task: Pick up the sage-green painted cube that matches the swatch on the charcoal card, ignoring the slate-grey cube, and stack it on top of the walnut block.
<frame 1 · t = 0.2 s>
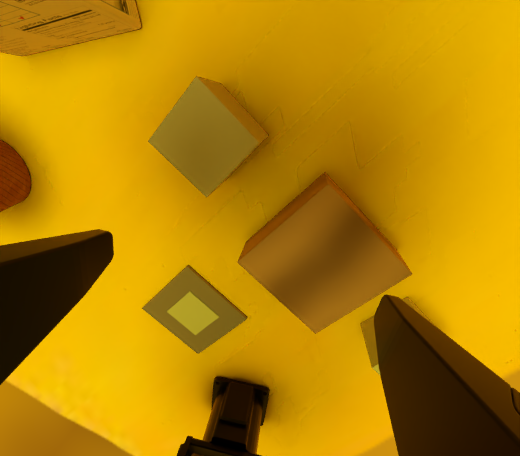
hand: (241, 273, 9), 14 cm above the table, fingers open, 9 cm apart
walnut block: (318, 243, 24), on the table
swatch card: (194, 311, 29), on the table
sage cube: (399, 326, 26), on the table
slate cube: (223, 134, 21), on the table
disposable coffee cup: (1, 170, 26), on the table
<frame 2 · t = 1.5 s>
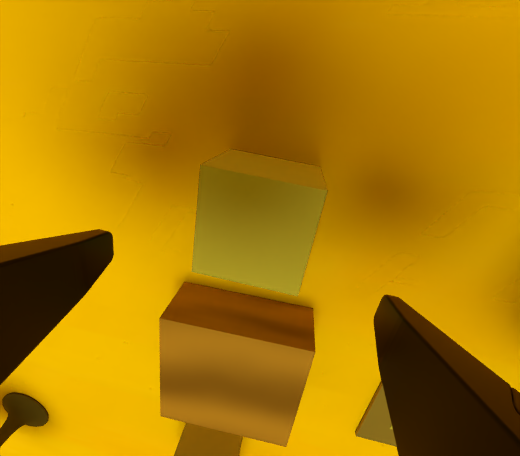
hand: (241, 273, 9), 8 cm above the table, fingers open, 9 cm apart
walnut block: (241, 339, 21), on the table
swatch card: (424, 414, 21), on the table
sundae: (27, 407, 29), on the table
sage cube: (267, 200, 16), on the table
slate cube: (214, 434, 26), on the table
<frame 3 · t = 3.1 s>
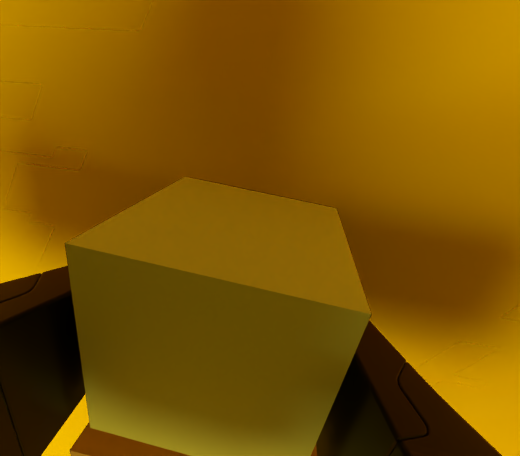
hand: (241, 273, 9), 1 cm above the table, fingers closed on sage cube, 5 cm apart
walnut block: (217, 436, 15), on the table
sage cube: (247, 258, 10), on the table, touching gripper
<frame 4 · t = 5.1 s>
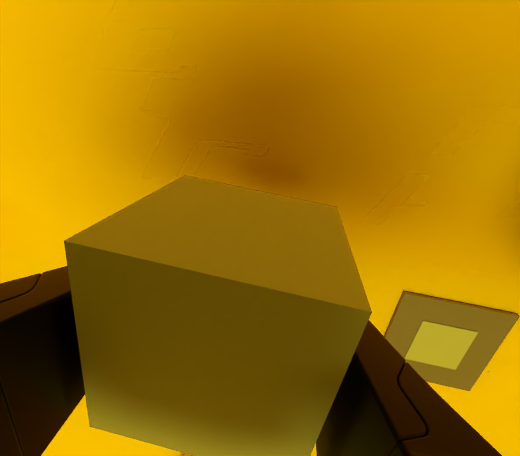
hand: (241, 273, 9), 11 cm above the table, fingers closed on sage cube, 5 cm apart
swatch card: (437, 342, 22), on the table
sage cube: (247, 257, 10), point 10 cm above the table, touching gripper
when the fingers open (6 cm above the table, at t = 7.3 s): sage cube drops 2 cm, point 4 cm above the table.
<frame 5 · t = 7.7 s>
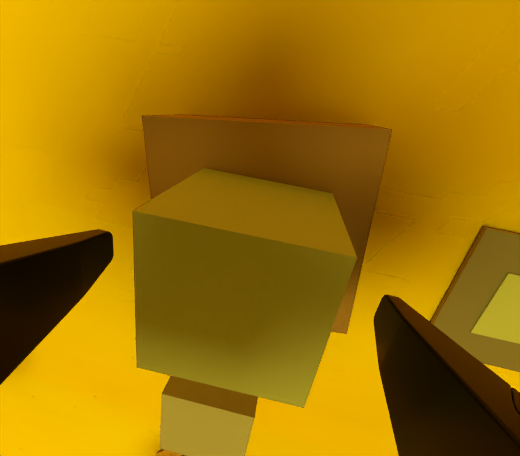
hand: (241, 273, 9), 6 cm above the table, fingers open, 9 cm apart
walnut block: (266, 206, 15), on the table
sage cube: (257, 238, 12), point 4 cm above the table
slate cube: (226, 360, 20), on the table
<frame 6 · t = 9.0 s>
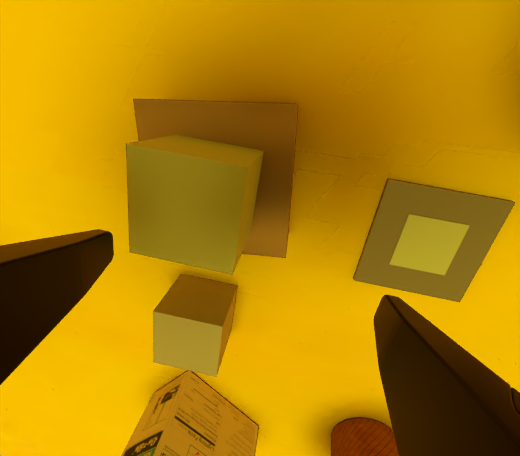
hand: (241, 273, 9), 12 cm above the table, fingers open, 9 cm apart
walnut block: (230, 171, 20), on the table, touching sage cube
swatch card: (425, 243, 20), on the table
sage cube: (215, 185, 16), point 4 cm above the table, touching walnut block
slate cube: (207, 302, 25), on the table
light bulb box: (207, 407, 31), on the table
disposable coffee cup: (361, 435, 29), on the table
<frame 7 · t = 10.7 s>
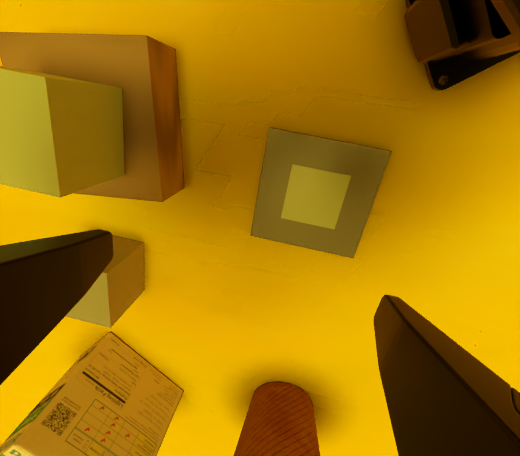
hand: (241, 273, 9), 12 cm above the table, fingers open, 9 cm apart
walnut block: (123, 121, 20), on the table, touching sage cube
swatch card: (314, 196, 20), on the table
sage cube: (84, 126, 17), point 4 cm above the table, touching walnut block
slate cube: (118, 260, 25), on the table
light bulb box: (133, 371, 31), on the table
disposable coffee cup: (282, 401, 29), on the table
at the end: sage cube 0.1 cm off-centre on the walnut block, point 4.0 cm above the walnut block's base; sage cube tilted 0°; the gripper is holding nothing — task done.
